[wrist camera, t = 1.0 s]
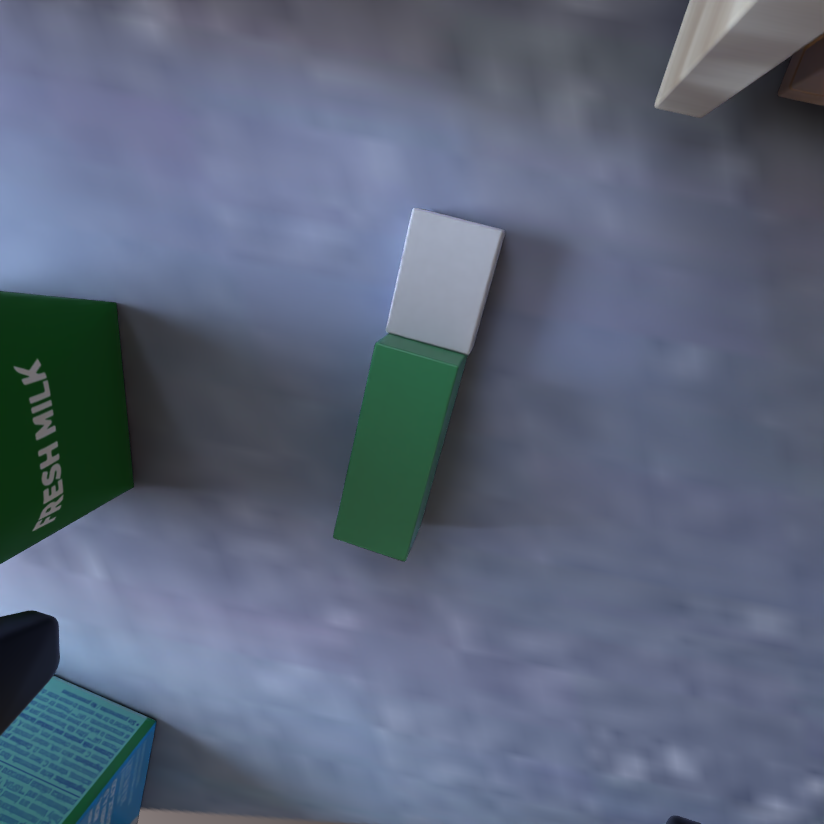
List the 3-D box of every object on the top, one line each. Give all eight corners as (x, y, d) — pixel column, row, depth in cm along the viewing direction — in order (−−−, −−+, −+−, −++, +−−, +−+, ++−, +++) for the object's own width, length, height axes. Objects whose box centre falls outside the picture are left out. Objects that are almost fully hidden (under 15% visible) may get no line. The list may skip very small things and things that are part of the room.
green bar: (423, 526, 20) (408, 564, 18) (352, 503, 20) (328, 537, 18) (506, 230, 17) (500, 230, 14) (419, 208, 17) (400, 205, 15)
